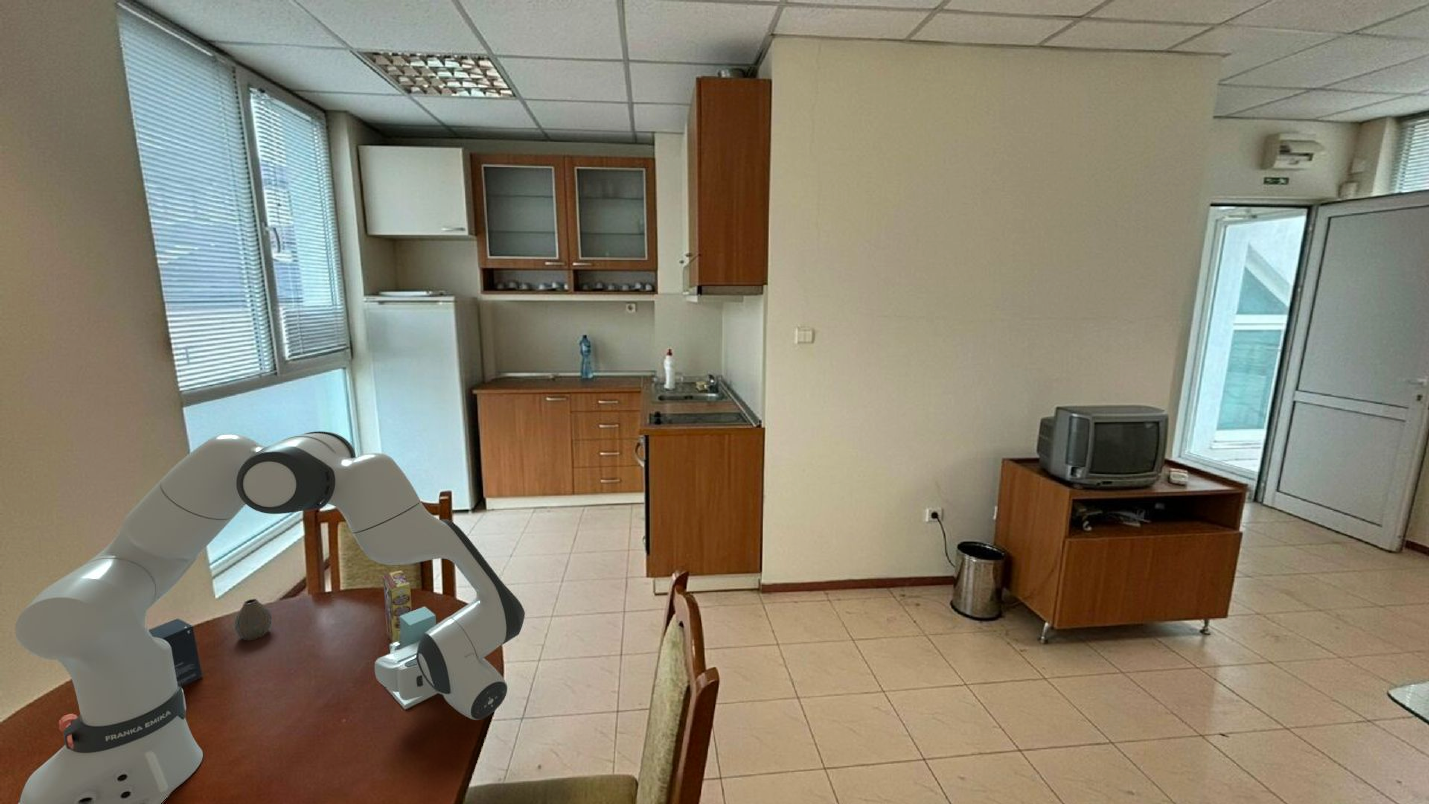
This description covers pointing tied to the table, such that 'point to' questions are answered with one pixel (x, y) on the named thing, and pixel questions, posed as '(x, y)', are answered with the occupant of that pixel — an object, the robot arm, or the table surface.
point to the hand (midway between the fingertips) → (417, 636)
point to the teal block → (416, 625)
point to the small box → (181, 649)
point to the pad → (410, 702)
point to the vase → (252, 620)
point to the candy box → (396, 603)
